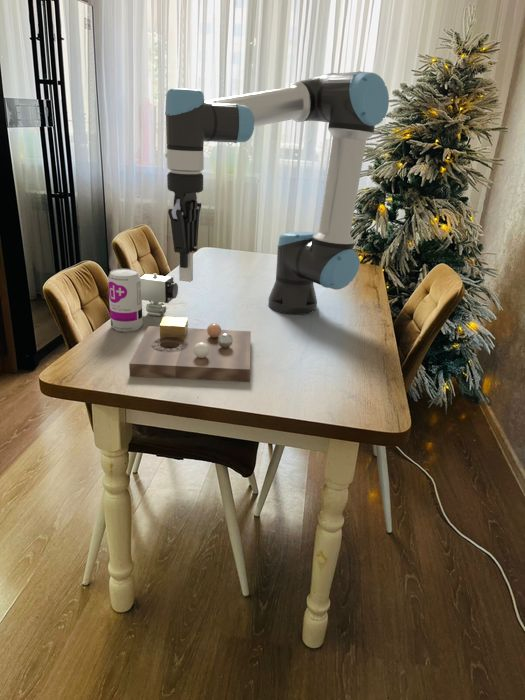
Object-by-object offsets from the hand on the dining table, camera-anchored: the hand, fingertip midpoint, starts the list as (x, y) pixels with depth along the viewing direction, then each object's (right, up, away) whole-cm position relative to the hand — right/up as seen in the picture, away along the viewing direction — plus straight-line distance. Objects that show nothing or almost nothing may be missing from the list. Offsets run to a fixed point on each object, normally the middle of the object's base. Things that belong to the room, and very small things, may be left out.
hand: (186, 280), depth 116 cm
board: (+1, -18, +5) cm, 18 cm away
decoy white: (+4, -16, -3) cm, 17 cm away
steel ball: (+9, -14, +3) cm, 17 cm away
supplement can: (-19, -10, +20) cm, 29 cm away
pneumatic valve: (-13, -6, +30) cm, 33 cm away
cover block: (-4, -12, +10) cm, 16 cm away
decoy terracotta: (+6, -11, +8) cm, 15 cm away
